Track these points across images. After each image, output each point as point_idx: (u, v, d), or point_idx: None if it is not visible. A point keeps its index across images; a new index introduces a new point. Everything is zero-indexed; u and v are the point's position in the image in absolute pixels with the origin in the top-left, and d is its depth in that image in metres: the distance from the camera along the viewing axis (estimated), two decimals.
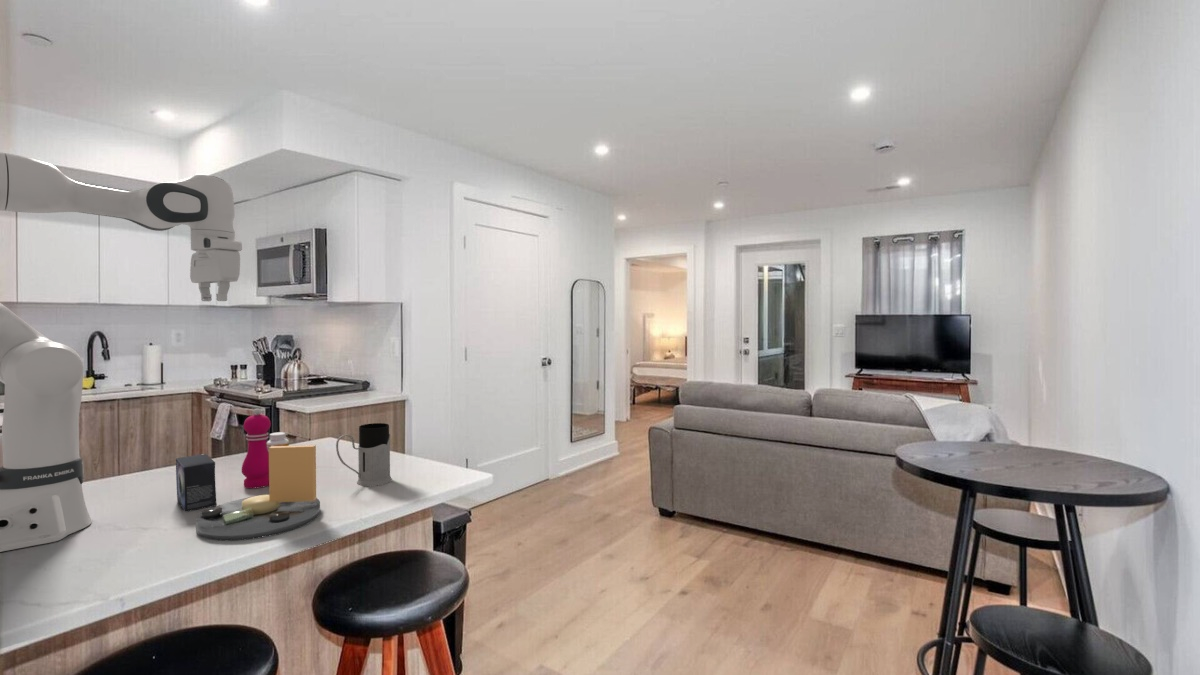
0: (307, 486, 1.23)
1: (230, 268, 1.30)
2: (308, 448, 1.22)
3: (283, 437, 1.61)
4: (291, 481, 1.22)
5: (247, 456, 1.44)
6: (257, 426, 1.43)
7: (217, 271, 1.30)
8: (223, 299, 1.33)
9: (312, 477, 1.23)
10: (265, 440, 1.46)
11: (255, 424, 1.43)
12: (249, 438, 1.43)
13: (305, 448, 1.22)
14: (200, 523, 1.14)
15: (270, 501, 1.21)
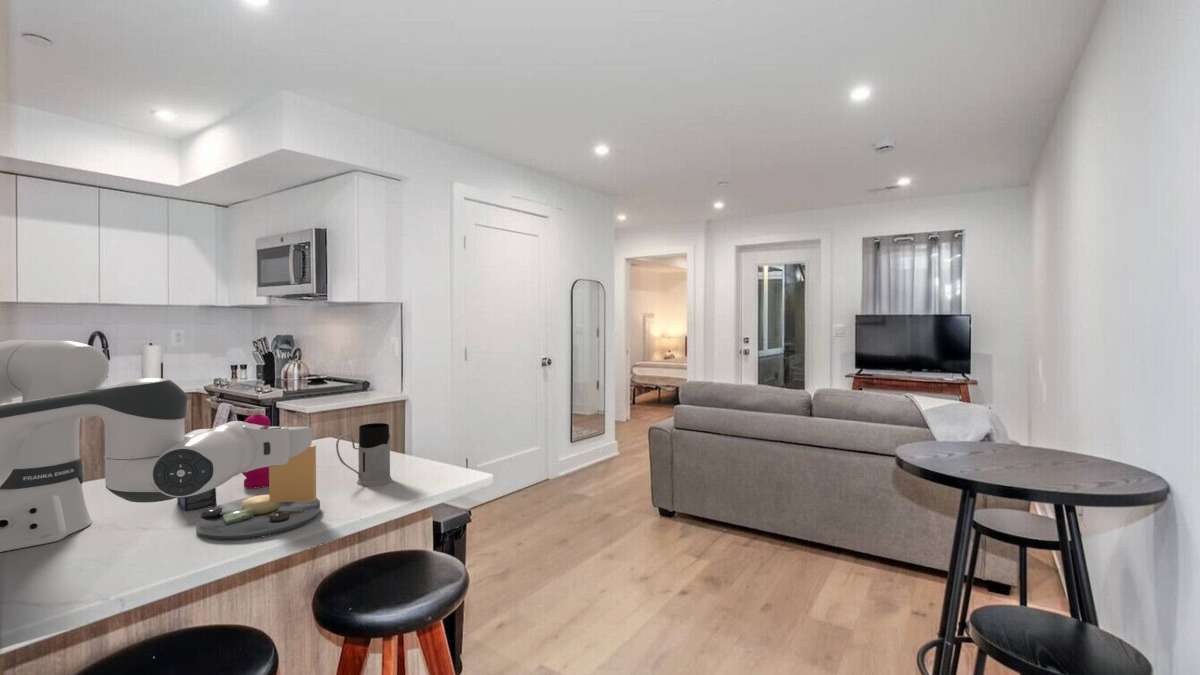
0: (307, 486, 1.23)
1: (307, 438, 1.04)
2: (308, 448, 1.22)
3: None
4: (291, 481, 1.22)
5: None
6: None
7: None
8: None
9: (312, 477, 1.23)
10: None
11: None
12: None
13: None
14: (200, 523, 1.14)
15: (270, 501, 1.21)
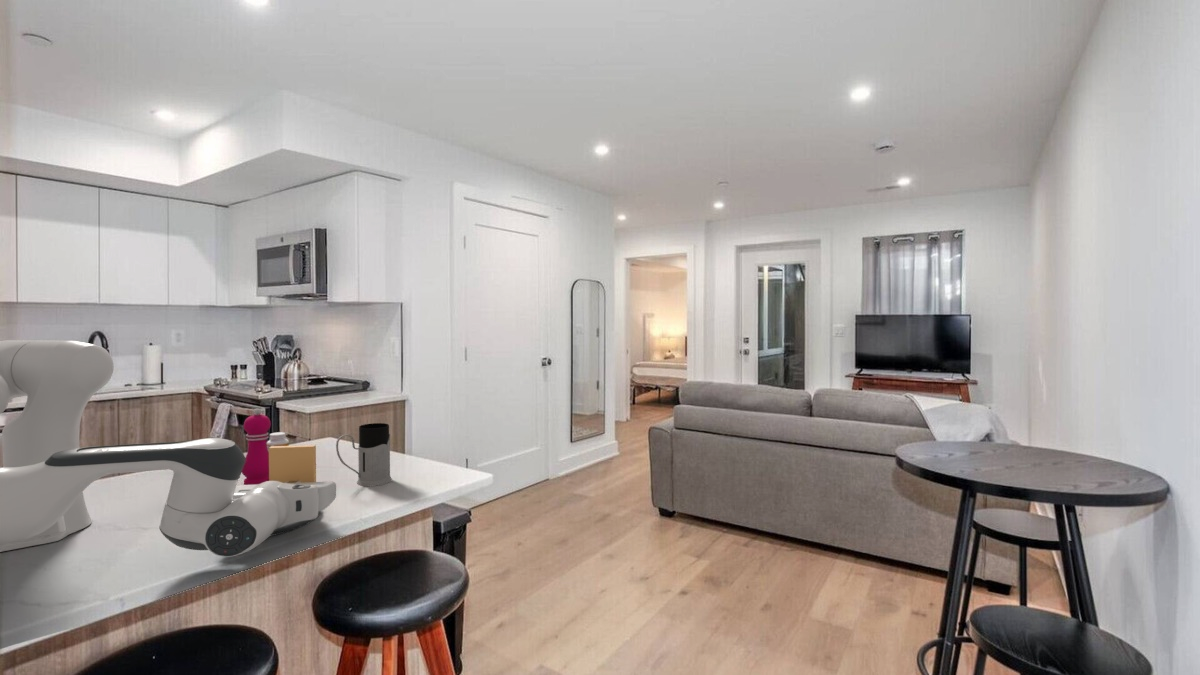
0: None
1: (332, 493, 1.16)
2: (308, 448, 1.22)
3: (283, 437, 1.61)
4: (291, 480, 1.22)
5: (247, 456, 1.44)
6: (258, 426, 1.43)
7: None
8: None
9: (312, 477, 1.23)
10: (265, 440, 1.46)
11: (255, 424, 1.43)
12: (249, 438, 1.43)
13: (305, 448, 1.22)
14: None
15: None
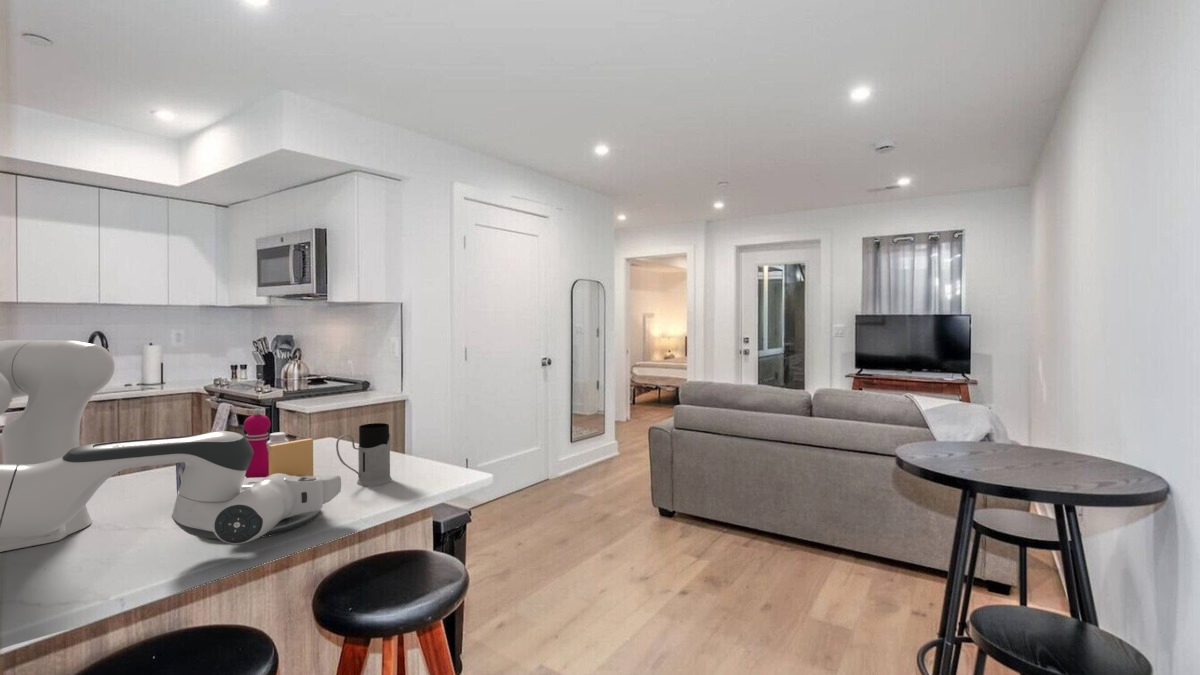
0: None
1: (337, 486, 1.21)
2: (308, 441, 1.29)
3: (283, 437, 1.61)
4: None
5: None
6: (257, 426, 1.43)
7: None
8: None
9: (312, 468, 1.30)
10: (265, 440, 1.46)
11: (255, 424, 1.43)
12: (249, 438, 1.43)
13: (305, 441, 1.28)
14: None
15: None
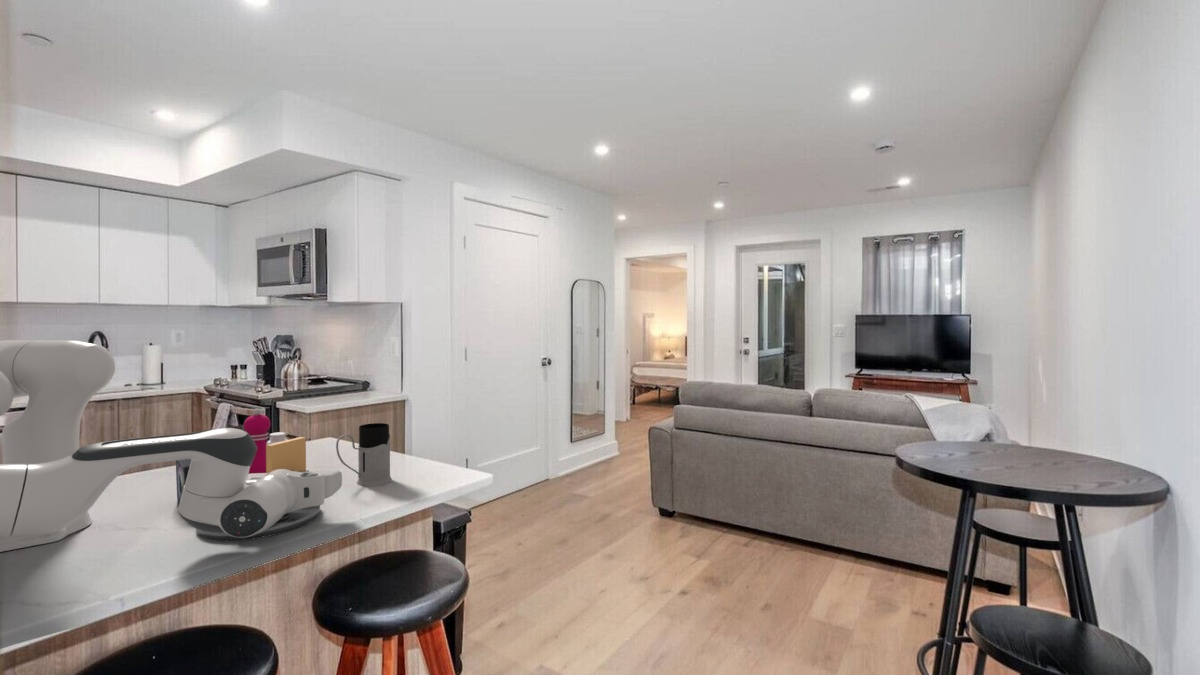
0: None
1: (338, 481, 1.24)
2: (302, 439, 1.30)
3: (283, 437, 1.61)
4: None
5: None
6: (257, 426, 1.43)
7: None
8: None
9: (305, 466, 1.31)
10: (265, 440, 1.46)
11: (255, 424, 1.43)
12: None
13: (299, 440, 1.30)
14: None
15: None
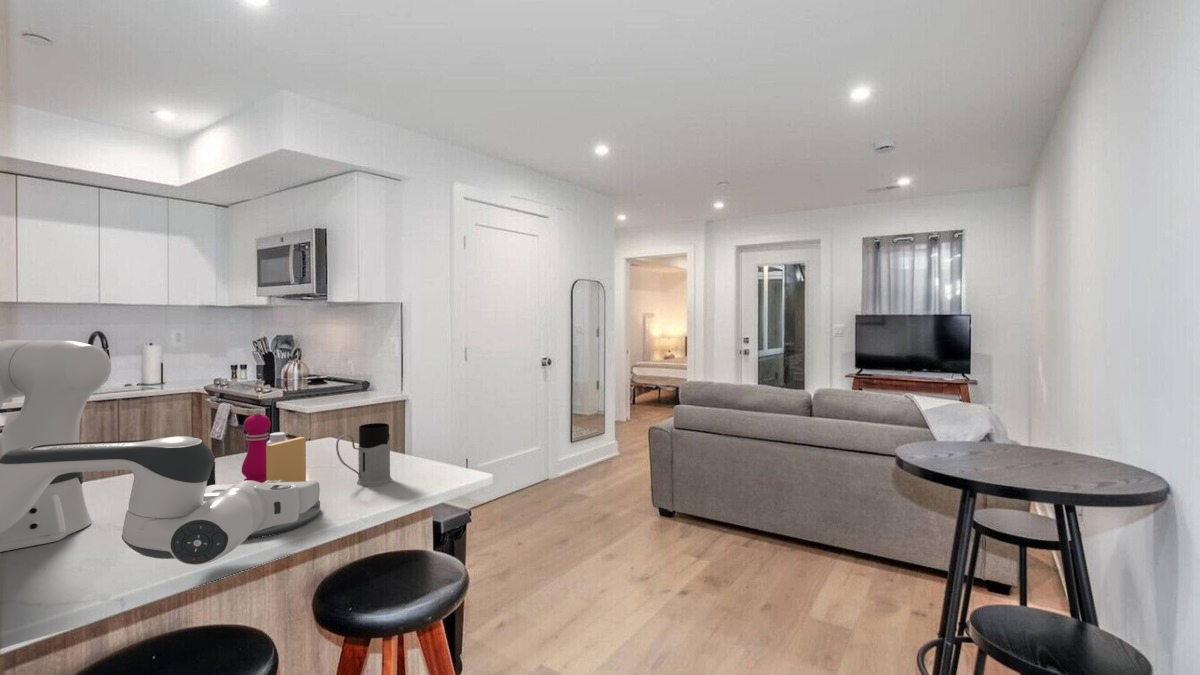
0: (301, 475, 1.30)
1: (315, 493, 1.08)
2: (301, 439, 1.30)
3: (283, 437, 1.61)
4: (289, 473, 1.27)
5: (247, 456, 1.44)
6: (257, 426, 1.43)
7: None
8: None
9: (304, 466, 1.31)
10: (265, 440, 1.46)
11: (255, 424, 1.43)
12: (249, 438, 1.43)
13: (299, 440, 1.30)
14: None
15: None
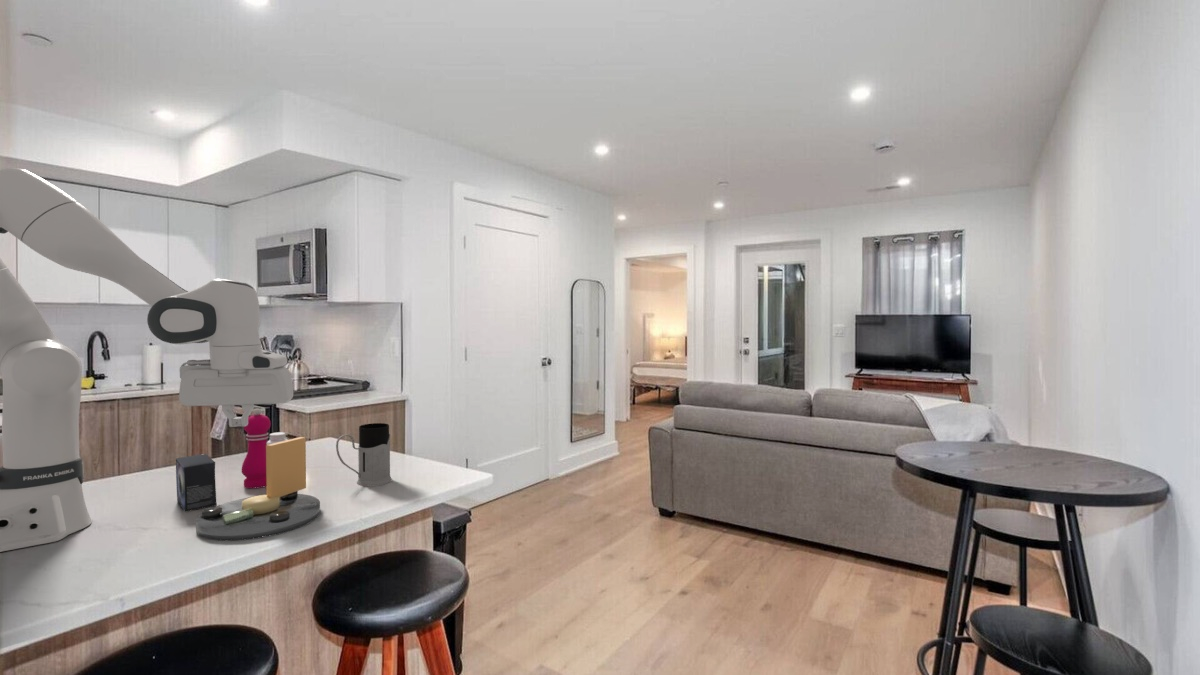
0: (301, 475, 1.30)
1: (289, 388, 1.16)
2: (301, 439, 1.30)
3: (283, 437, 1.61)
4: (289, 473, 1.27)
5: (247, 456, 1.44)
6: (258, 426, 1.43)
7: (272, 393, 1.14)
8: (246, 423, 1.15)
9: (304, 466, 1.31)
10: (265, 440, 1.46)
11: (255, 424, 1.43)
12: (249, 438, 1.43)
13: (299, 440, 1.30)
14: (200, 523, 1.14)
15: (275, 497, 1.24)
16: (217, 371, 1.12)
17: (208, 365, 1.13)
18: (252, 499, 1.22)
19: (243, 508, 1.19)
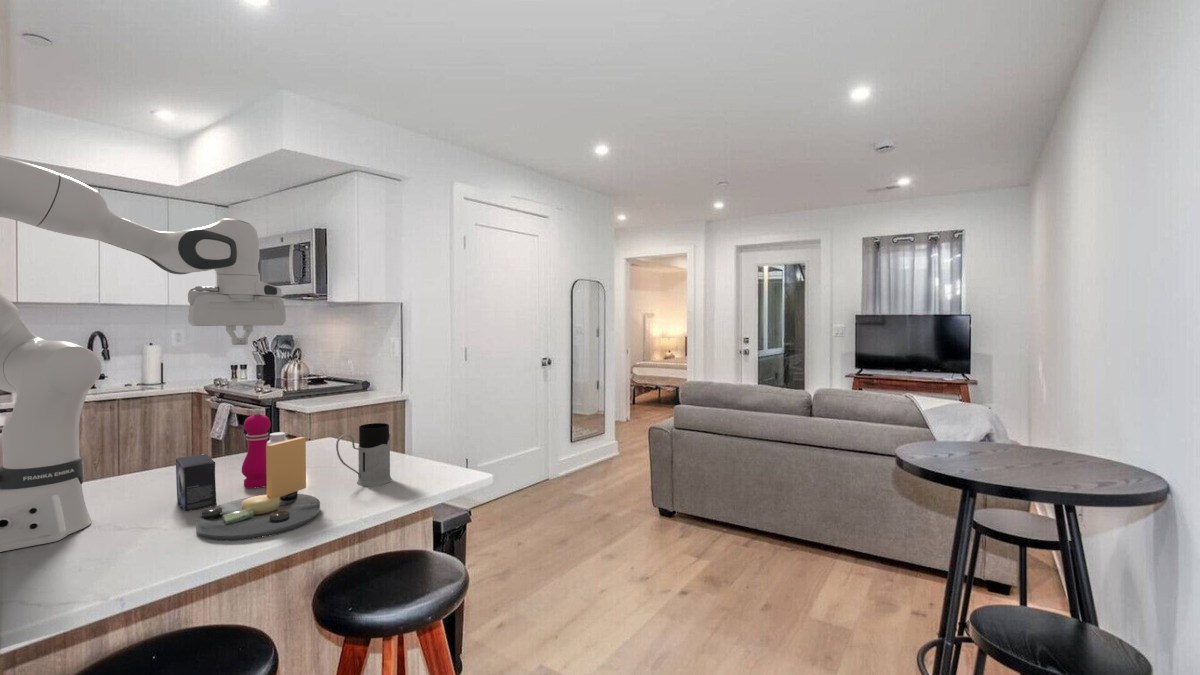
0: (301, 475, 1.30)
1: None
2: (301, 439, 1.30)
3: (283, 437, 1.61)
4: (289, 473, 1.27)
5: (247, 456, 1.44)
6: (258, 426, 1.43)
7: (274, 316, 1.41)
8: None
9: (304, 466, 1.31)
10: (265, 440, 1.46)
11: (255, 424, 1.43)
12: (249, 438, 1.43)
13: (299, 440, 1.30)
14: (200, 523, 1.14)
15: (275, 497, 1.24)
16: (229, 296, 1.33)
17: (215, 291, 1.32)
18: (252, 499, 1.22)
19: (243, 508, 1.19)
